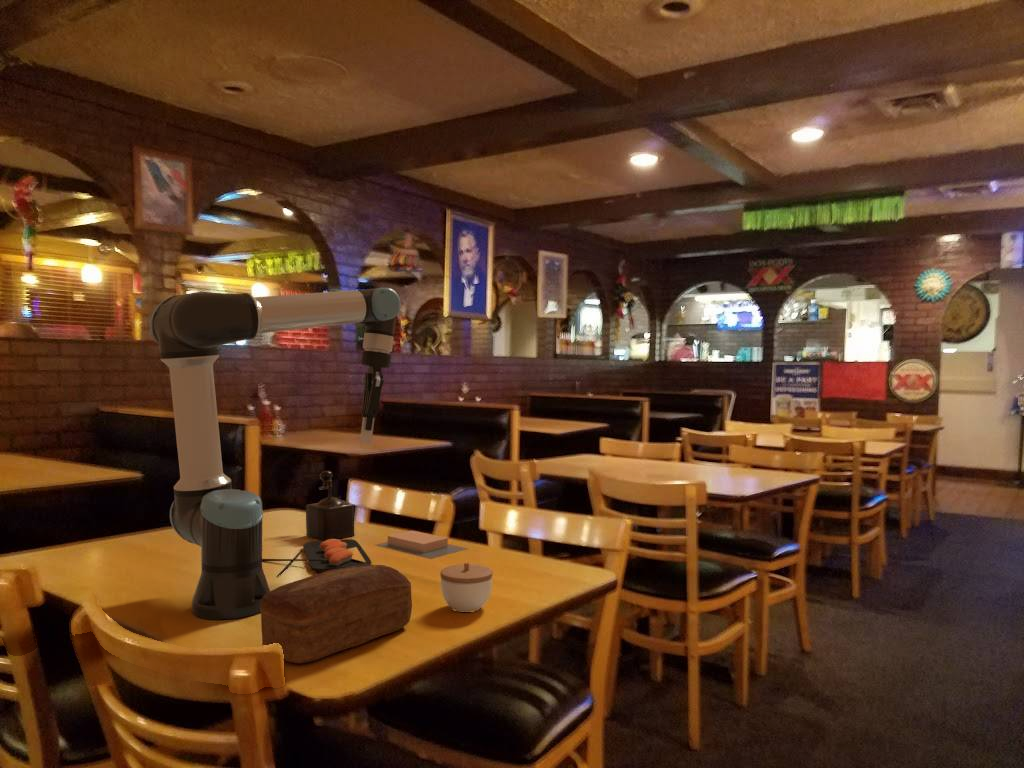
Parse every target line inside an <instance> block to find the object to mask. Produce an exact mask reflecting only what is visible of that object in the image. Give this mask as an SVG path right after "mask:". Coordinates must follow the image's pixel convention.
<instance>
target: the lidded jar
mask: <svg viewBox="0 0 1024 768" xmlns="http://www.w3.org/2000/svg"><path fill="white" fill-rule="evenodd" d="M463 563H464V564H463ZM463 563H462V564H453V565H449V566H447V567H444V568H442V569H441V570H440V573H439V574H440V586H441V588H440V589H441V593H442V597H443V599H444V601H445V602H446V604H447V605H448V606H449V607H451V608H450V609H451V610H452V609H454V610H456V611H460V612H471V611H476V610H478V609H480V608H481V609H482V607H483V606H484V605H485V604H486V603H487V602H488V600H489V598H490V597H491V591H492V587H493V585H492V583H493V576H494V575H493V570H492V568H490V567H489V566H484V565H480V564H472V563H469V562H463ZM481 609H480V610H481Z"/></svg>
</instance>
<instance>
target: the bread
mask: <svg viewBox="0 0 1024 768" xmlns="http://www.w3.org/2000/svg"><path fill="white" fill-rule="evenodd" d="M412 599H413V598H412V583H411V582H410V580H409V579H408V578H407V576H405V575H404V574H403V573H401V572H400V571H399V570H397V568H393V567H391V566H388V565H385V564H384V565H383V564H371V565H369V564H366V565H361V566H351V567H345V568H340V569H333V570H328V571H327V570H324V571H323V572H321V573H318V574H314V575H310V576H308V577H305V578H301V579H298V580H295V581H292V582H289V583H285V584H282V585H281V586H278V587H276V588H274V589H272V590H270V592H268V593H267V594H266V595H264V596H263V598H262V599H261V603H260V611H261V612H260V620H261V622H260V623H261V640H262V641H261V642H262V643H261V644H262V646H263V645H269V644H273V643H279V644H280V645H281V646H282V649H283V654H284V660H283V661H285V662H287V663H288V662H289V663H292V664H306V663H310V662H314V661H317V660H321V659H323V658H325V657H328V656H330V655H332V654H335V653H339V652H341V651H343V650H347V649H349V648H354V647H357V646H361V645H362V644H364V643H367V642H370V641H372V640H374V639H377V638H379V637H381V636H385V635H388V634H392V633H395V632H397V631H399V630H401V629H402V628H404V627H405V626H407V625H408V624H409V623H410V621H411V617H412V611H413V610H412V607H413V604H412V603H413V600H412Z"/></svg>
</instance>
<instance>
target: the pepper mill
mask: <svg viewBox="0 0 1024 768" xmlns="http://www.w3.org/2000/svg"><path fill="white" fill-rule="evenodd" d="M332 477H333V472H332V471H330V470H323V471H322V472H320V474H319V479H320V480H321V481H322V482H323V483H322V486H320V487H318V489H319V490H321V491H322V490H328V493H327V494H328V495H327V497H325V498H323V499H320V500H319V502H317V503H311V504H310V503H309V504H305V529H306V530H305V532H306V533H305V534H306V536H307V537H308V538H310V539H313V540H317V541H326V540H329V539H338V540H344V539H349V538H352V537H355V504H352V503H348V502H347V501H345V500H342V499H341V498H342V496H341V495H339V496H338V497H335V496H333V495H332V488H333V480H332Z"/></svg>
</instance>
